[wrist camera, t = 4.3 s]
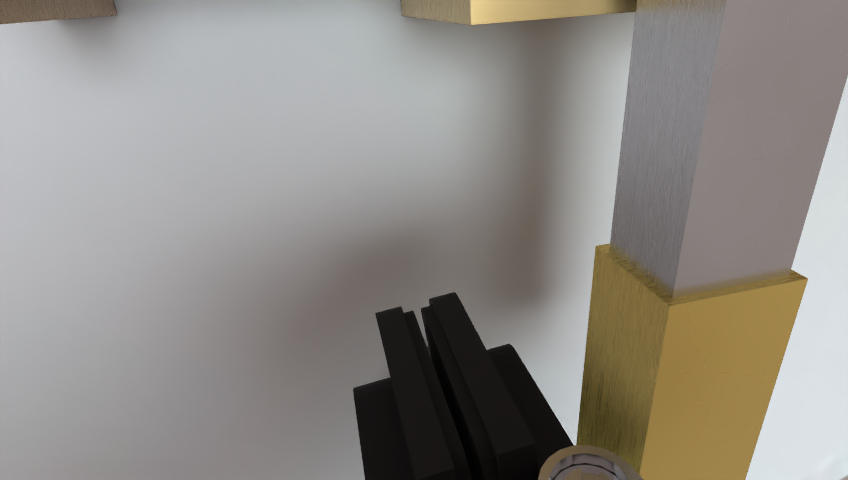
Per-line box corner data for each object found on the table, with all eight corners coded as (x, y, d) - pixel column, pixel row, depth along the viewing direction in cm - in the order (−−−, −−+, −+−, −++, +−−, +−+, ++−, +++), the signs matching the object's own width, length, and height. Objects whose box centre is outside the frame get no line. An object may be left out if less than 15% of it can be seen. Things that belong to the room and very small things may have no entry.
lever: (608, -498, 6) (775, -762, 4) (902, -465, 7) (1173, -672, 5) (547, 455, 13) (595, 542, 11) (696, 419, 14) (767, 494, 12)
